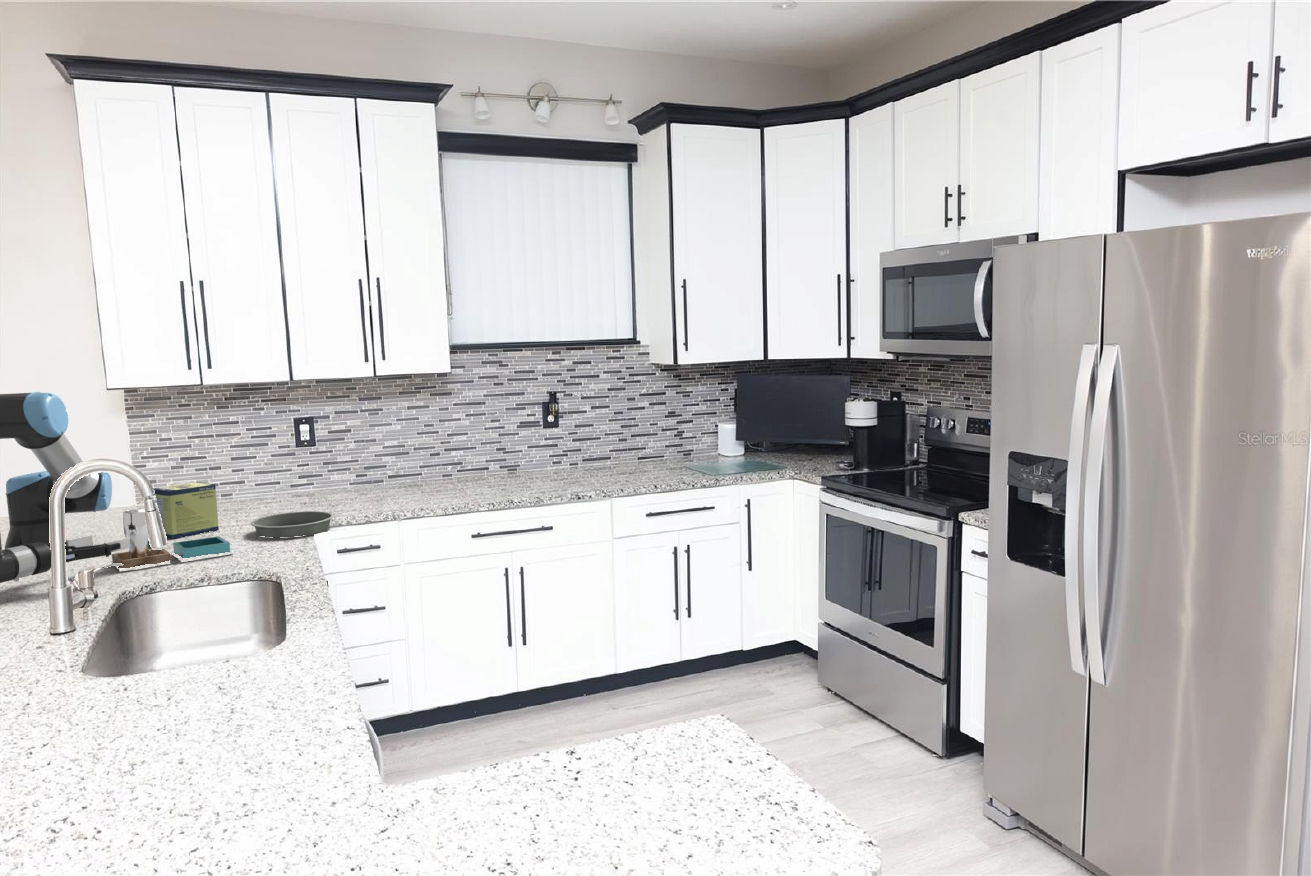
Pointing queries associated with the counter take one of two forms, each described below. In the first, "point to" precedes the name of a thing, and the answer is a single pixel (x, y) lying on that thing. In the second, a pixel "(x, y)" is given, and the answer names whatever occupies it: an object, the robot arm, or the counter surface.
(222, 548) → the teal shallow tray
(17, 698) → the counter surface
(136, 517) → the beer glass
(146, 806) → the counter surface
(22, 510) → the robot arm
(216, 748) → the counter surface
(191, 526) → the protein box
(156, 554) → the brown square tray
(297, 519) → the cake pan
